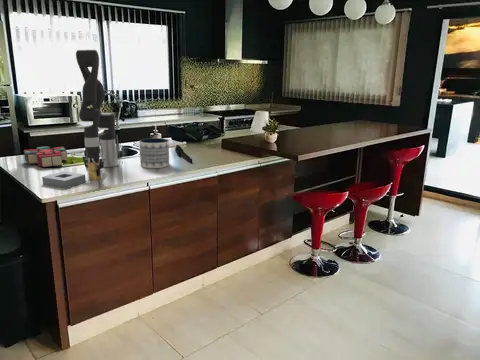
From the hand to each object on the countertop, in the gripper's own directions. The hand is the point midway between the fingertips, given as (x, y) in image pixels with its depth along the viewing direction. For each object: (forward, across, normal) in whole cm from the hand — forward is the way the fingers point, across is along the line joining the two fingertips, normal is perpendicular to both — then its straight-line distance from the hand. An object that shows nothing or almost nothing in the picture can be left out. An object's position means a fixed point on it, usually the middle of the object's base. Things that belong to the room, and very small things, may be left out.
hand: (94, 175), depth 218 cm
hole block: (+2, +9, +13) cm, 16 cm away
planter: (+3, -10, -43) cm, 44 cm away
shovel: (+3, -15, -70) cm, 72 cm away
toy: (+3, +55, -17) cm, 57 cm away
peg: (+2, 0, 0) cm, 2 cm away
